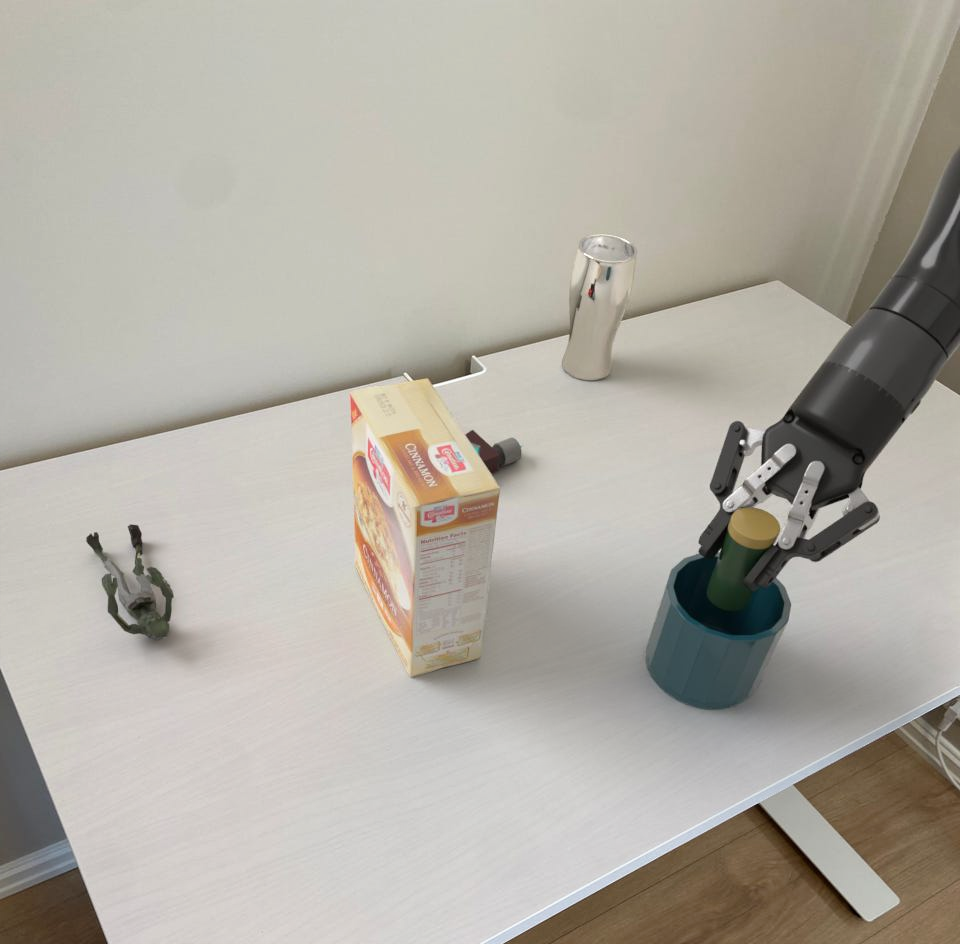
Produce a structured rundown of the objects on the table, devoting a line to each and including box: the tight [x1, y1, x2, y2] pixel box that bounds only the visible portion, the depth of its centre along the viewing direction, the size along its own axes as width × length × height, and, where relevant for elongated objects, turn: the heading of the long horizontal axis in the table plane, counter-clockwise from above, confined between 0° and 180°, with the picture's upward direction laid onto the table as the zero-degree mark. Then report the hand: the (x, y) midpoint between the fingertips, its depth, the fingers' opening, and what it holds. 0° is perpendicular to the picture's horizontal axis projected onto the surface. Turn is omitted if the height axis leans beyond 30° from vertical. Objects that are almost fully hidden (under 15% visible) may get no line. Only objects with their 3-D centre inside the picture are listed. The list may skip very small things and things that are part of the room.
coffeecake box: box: [349, 377, 501, 678], centre depth 81 cm, size 15×7×20 cm, turn 23°
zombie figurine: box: [85, 523, 175, 641], centre depth 84 cm, size 5×7×15 cm
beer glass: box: [561, 233, 638, 381], centre depth 111 cm, size 7×7×15 cm
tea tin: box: [706, 507, 781, 611], centre depth 77 cm, size 4×4×8 cm
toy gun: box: [464, 429, 523, 474], centre depth 102 cm, size 10×12×5 cm
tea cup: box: [645, 551, 792, 710], centre depth 83 cm, size 10×10×9 cm
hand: (726, 571), depth 76 cm, fingers closed on tea tin, 3 cm apart
